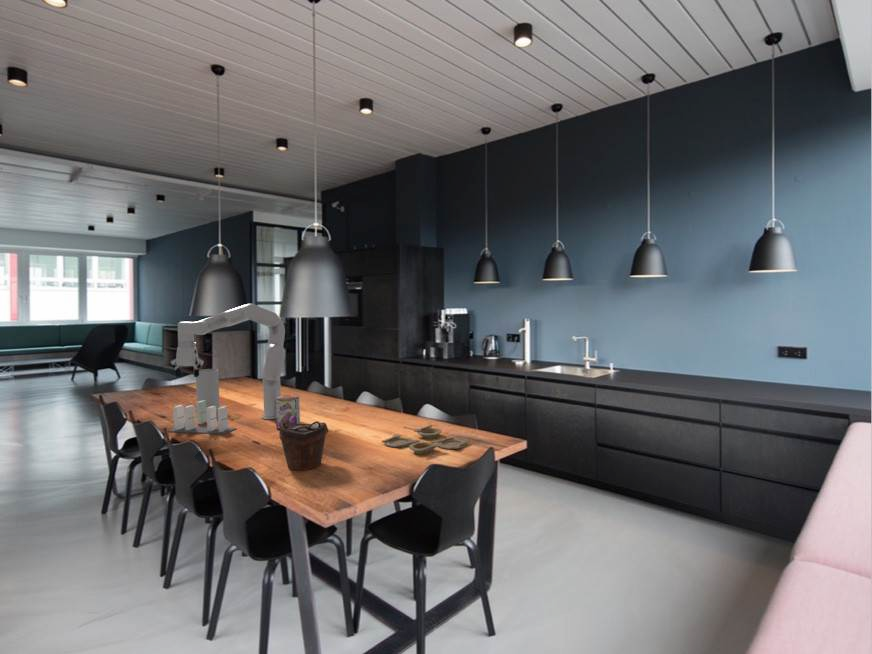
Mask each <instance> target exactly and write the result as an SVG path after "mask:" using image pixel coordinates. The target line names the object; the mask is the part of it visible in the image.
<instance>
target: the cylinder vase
mask: <svg viewBox="0 0 872 654" xmlns="http://www.w3.org/2000/svg"><path fill="white" fill-rule="evenodd" d="M219 380H220V379H219V369H218V368H217V369H216V368H206V369H199V376H198V377H195V390H196V402H199V401H202V400H204V401H206V408H208V407H211V406H216V413H218V411H217V408H220V407H221V403H220V402H221V401H220V400H221V399H220V381H219Z"/></svg>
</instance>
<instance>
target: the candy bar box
mask: <svg viewBox="0 0 872 654" xmlns="http://www.w3.org/2000/svg"><path fill="white" fill-rule="evenodd" d="M275 399H276V419H275V420H276V421H275V422H276V423H275V424H276V427H275V428H276V430H280V425H281V423H298V424H301V415H300V413H301V412H300V411H301V409H300V396H281V397H277V398H275Z"/></svg>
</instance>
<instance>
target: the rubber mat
mask: <svg viewBox="0 0 872 654" xmlns="http://www.w3.org/2000/svg"><path fill="white" fill-rule="evenodd" d="M235 430H237V427H236V428H235V427H228V430H225V431H223V432H219V431H218V426H217V429H215V430H213V431H207V426H195V428H194V429H191V430H185V428H182V429H179V430H174V428H172V429H169V430H167V433H184V434H205V435H206V434H207V435H209V434H210V435H227V434H228V433H231V432H233V431H235Z"/></svg>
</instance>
